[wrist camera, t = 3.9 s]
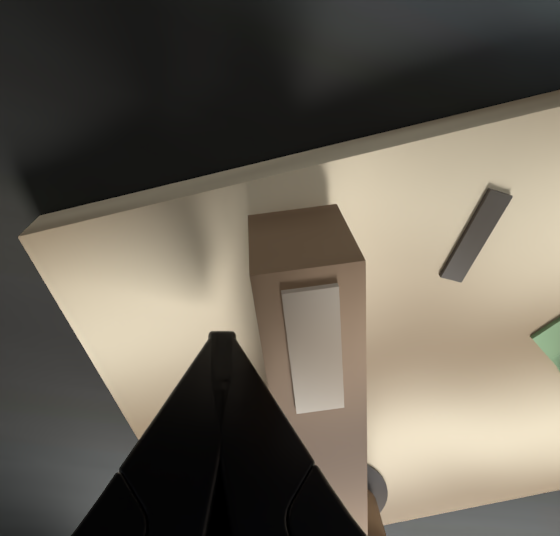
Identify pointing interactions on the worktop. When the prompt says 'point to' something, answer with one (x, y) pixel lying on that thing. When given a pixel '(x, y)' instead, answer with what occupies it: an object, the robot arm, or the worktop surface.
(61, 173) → the worktop surface
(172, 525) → the robot arm
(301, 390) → the walnut lever
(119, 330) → the dial plate
